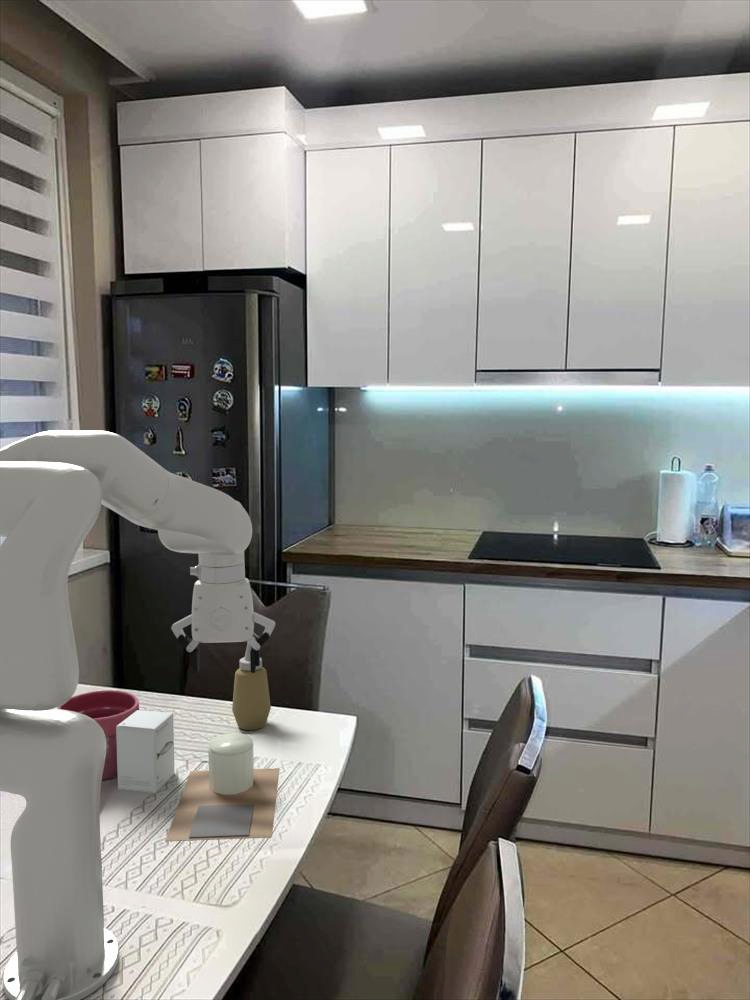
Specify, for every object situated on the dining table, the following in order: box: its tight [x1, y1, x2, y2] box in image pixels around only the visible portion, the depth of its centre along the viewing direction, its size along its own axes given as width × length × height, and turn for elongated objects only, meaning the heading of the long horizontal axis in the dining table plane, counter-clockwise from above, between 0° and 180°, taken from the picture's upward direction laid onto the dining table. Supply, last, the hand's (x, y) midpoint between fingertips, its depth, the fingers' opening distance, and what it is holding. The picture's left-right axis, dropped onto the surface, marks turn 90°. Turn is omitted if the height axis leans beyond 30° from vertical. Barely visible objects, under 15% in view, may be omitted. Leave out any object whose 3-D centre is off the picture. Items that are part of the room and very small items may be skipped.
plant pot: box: [56, 689, 140, 782], centre depth 135 cm, size 14×14×13 cm
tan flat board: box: [165, 767, 280, 842], centre depth 123 cm, size 22×16×1 cm
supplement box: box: [116, 709, 176, 794], centre depth 129 cm, size 7×7×13 cm
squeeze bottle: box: [231, 642, 272, 731], centre depth 155 cm, size 8×8×18 cm
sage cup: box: [207, 732, 255, 795], centre depth 128 cm, size 8×8×8 cm
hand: (225, 670), depth 126 cm, fingers open, 9 cm apart
